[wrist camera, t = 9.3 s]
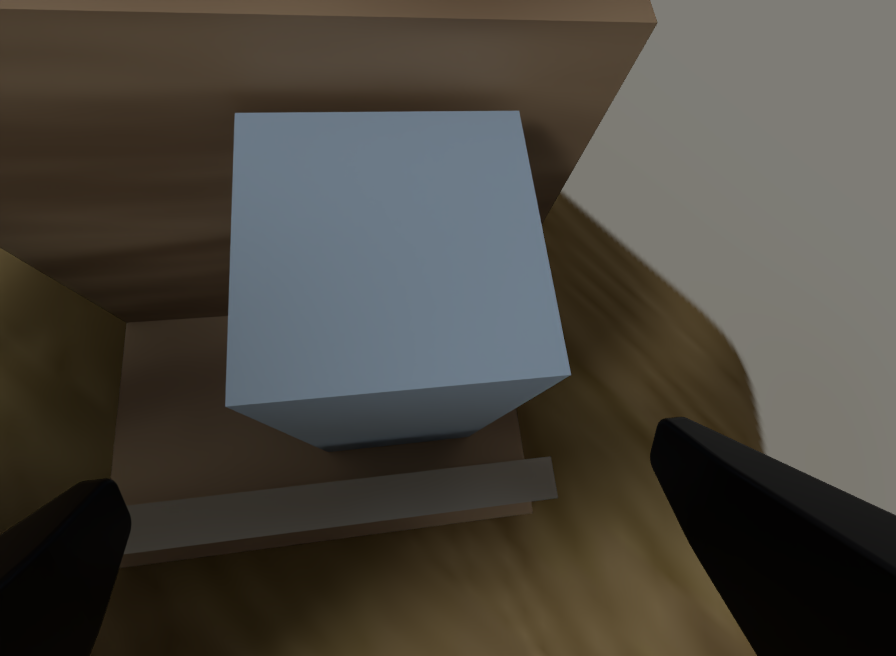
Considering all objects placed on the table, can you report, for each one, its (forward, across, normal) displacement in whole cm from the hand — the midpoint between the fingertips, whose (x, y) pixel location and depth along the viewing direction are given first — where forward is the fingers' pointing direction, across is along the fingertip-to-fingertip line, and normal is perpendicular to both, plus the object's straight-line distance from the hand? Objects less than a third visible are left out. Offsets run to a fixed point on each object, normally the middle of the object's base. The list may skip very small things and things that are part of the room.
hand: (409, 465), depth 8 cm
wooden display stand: (+9, +3, +5) cm, 11 cm away
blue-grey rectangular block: (+9, 0, +4) cm, 10 cm away
